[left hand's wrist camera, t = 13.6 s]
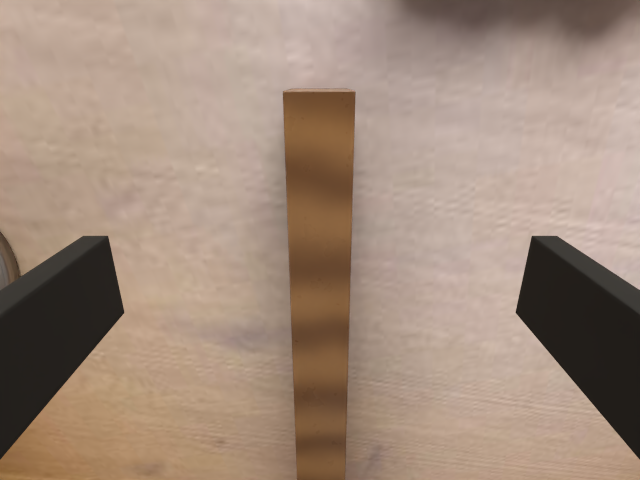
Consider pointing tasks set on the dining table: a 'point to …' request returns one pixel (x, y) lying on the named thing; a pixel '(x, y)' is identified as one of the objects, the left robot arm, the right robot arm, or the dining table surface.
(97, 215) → the dining table surface
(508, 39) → the dining table surface
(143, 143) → the dining table surface
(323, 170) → the beam
